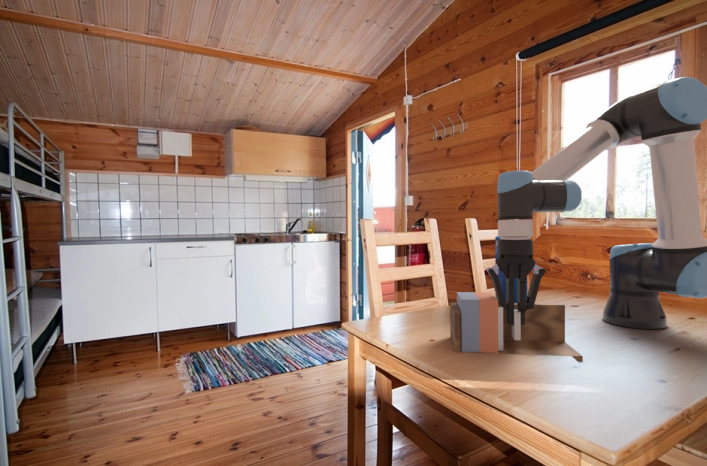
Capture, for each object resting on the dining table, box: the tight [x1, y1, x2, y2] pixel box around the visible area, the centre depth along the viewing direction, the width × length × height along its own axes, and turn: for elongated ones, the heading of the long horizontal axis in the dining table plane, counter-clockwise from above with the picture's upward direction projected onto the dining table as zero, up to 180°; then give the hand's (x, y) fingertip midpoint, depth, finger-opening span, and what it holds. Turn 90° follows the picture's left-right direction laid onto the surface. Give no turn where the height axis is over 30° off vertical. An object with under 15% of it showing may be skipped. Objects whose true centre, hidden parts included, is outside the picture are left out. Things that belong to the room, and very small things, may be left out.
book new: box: [473, 291, 498, 354], centre depth 91 cm, size 4×9×12 cm, turn 171°
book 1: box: [456, 291, 480, 353], centre depth 91 cm, size 4×9×12 cm, turn 171°
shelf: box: [449, 301, 584, 362], centre depth 91 cm, size 27×11×10 cm, turn 81°
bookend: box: [498, 303, 503, 351], centre depth 91 cm, size 1×8×10 cm, turn 171°
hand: (516, 338), depth 90 cm, fingers closed
